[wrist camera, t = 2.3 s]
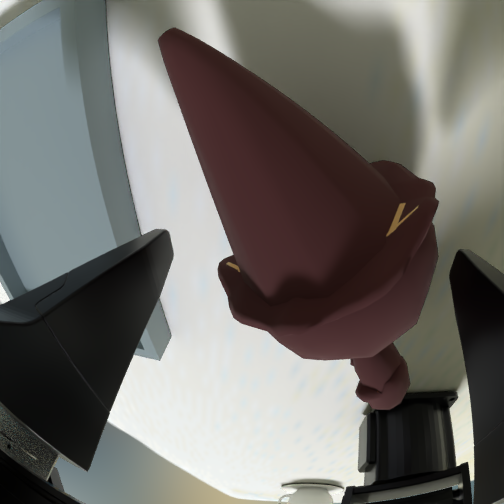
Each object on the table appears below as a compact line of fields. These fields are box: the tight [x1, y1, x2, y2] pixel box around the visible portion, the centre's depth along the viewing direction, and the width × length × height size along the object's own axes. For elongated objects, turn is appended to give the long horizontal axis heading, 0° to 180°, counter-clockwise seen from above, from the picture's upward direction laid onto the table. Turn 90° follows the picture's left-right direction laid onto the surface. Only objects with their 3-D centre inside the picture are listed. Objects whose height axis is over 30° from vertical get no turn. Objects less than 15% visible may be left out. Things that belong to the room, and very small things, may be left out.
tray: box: [0, 0, 171, 361], centre depth 14 cm, size 14×20×2 cm
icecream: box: [158, 28, 439, 410], centre depth 9 cm, size 7×7×15 cm
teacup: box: [278, 484, 344, 504], centre depth 35 cm, size 10×10×5 cm
